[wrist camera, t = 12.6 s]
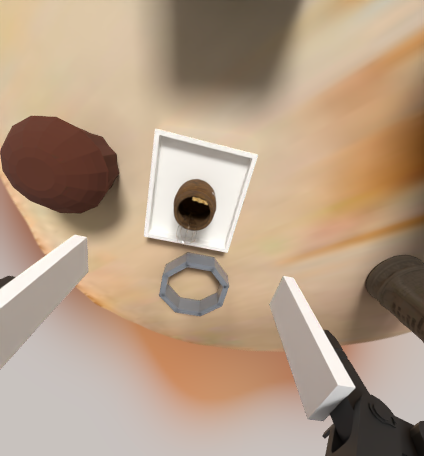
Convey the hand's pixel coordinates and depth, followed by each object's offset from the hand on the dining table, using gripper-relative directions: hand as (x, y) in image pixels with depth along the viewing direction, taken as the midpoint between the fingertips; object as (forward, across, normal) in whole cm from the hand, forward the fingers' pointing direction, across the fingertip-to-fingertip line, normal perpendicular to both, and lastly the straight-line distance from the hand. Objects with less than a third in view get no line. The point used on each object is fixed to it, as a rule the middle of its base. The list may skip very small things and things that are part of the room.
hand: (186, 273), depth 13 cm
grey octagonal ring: (+20, +2, -17) cm, 27 cm away
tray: (+20, -1, 0) cm, 20 cm away
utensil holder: (+20, -1, 0) cm, 20 cm away
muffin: (+20, -17, +1) cm, 27 cm away
